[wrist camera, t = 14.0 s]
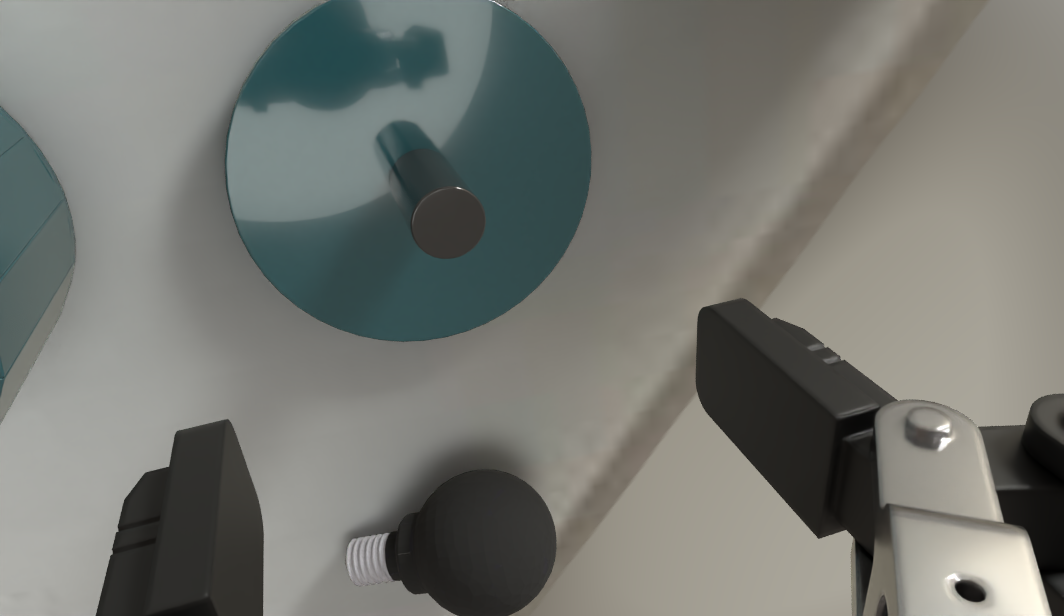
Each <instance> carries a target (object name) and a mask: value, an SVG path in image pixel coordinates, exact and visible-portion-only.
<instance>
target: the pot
mask: <svg viewBox="0 0 1064 616" xmlns="http://www.w3.org/2000/svg"><path fill="white" fill-rule="evenodd" d="M74 265H75V236H74V229H73V223H72V217H71V214H70V210H69V207H68V204H67V201H66V198H65V194H64V192H63V190H62V188H61V186H60V184H59V182H58V180H57V177H56V175H55V173H54V171H53V170H52V168H51V167H50V165H49V163H48V162H47V160H46V159H45V157H44V156H43V154H42V152H41V151H40V149H39V148H38V147H37V146H36V144H35V143H34V142H33V141H32V139H31V138H30V137H29V136H28V135H27V133H26V132H25V131H24V130H23V128H22V127H21V126H20V125H19V124H18V123H17V122H16V121H15V120H14V119H13V118H12V117H11V116H10V115H9V114H8V113H7V112H6V111H5V110H4V109H2V108H1V107H0V425H1V423H2V421H3V419H4V417H5V415H6V414H7V412H8V410H9V408H10V406H11V405H12V403H13V401H14V399H15V397H16V395H17V394H18V392H19V390H20V388H21V386H22V385H23V383H24V381H25V379H26V377H27V375H28V374H29V372H30V370H31V368H32V366H33V365H34V363H35V361H36V359H37V357H38V355H39V354H40V352H41V350H42V348H43V346H44V345H45V343H46V341H47V339H48V337H49V335H50V334H51V332H52V330H53V328H54V326H55V325H56V323H57V321H58V319H59V317H60V315H61V313H62V309H63V306H64V302H65V299H66V296H67V293H68V291H69V288H70V285H71V282H72V276H73V270H74Z"/></svg>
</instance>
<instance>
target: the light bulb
mask: <svg viewBox="0 0 1064 616" xmlns="http://www.w3.org/2000/svg"><path fill="white" fill-rule="evenodd" d="M555 556H556V532H555V526H554V522H553V519H552V516H551V514H550V512H549V510H548V507H547V506H546V504H545V502H544V501H543V499H542V498H541V496H540V495H539V494H538V493H537V492H536V491H535V490H534V489H533V488H532V487H531V486H530V485H529V484H527V483H526V482H525V481H523V480H521V479H519V478H518V477H516V476H514V475H511V474H508V473H505V472H501V471H497V470H475V471H470V472H466V473H463V474H460V475H458V476H456V477H454V478H452V479H450V480H448V481H447V482H446V483H444V484H443V485H442V486H440V487H439V488H438V489H437V490H436V491H435V492H434V493H433V494H432V495H431V496H430V498H429V499H428V500H427V501H426V503H425V505H424V506H423V508H422V510H421V512H418V513H412V514H408V515H406V516H405V517H404V518H403V519H402V521H401V523H400V524H399V527H398V530H397V531H396V532H391V533H385V534H383V535H382V534H378V535H377V536H376V535H372V536H365V537H359V538H357V539H352V540H351V541H350V543H349V545H348V548H347V553H346V560H345V565H346V568H347V571H348V574H349V577H350V579H351V581H352V582H353V583H354V584H355V585H357V586H363V585H369V584H372V585H374V584H376V583H378V584H380V583H383V582H385V583H387V582H389V581H391V582H394V581H400V580H402V582H403V584H404V586H405V587H406V589H407V590H408V591H410V592H411V593H413V594H424V593H428V594H429V595H430V596H431V597H432V598H433V599H434V600H435V601H436V602H437V603H438V604H439V605H440V606H441V607H443V608H445V609H446V610H448V611H450V612H451V613H453V614H455V615H458V616H508V615H511V614H513V613H515V612H517V611H519V610H521V609H522V608H523V607H525V606H526V605H527V604H529V603H530V602H531V601H532V600H533V599H534V598H535V597H536V596H537V595H538V594H539V592H540V591H541V590H542V588H543V587H544V585H545V583H546V582H547V580H548V578H549V576H550V574H551V571H552V568H553V565H554V562H555Z"/></svg>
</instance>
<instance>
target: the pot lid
mask: <svg viewBox="0 0 1064 616" xmlns="http://www.w3.org/2000/svg"><path fill="white" fill-rule="evenodd" d="M590 177H591V142H590V132H589V127H588V122H587V118H586V114H585V109H584V106H583V103H582V101H581V98H580V95H579V93H578V90H577V87H576V85H575V83H574V81H573V79H572V78H571V76H570V74H569V72H568V70H567V68H566V66H565V65H564V63H563V62H562V61H561V59H560V58H559V56H558V55H557V54H556V52H555V51H554V49H553V48H552V47H551V46H550V44H549V43H548V42H547V41H546V40H545V39H544V38H543V37H542V36H541V35H540V34H539V33H538V32H537V31H536V30H535V29H534V28H533V27H532V26H531V25H529V24H528V23H527V22H526V21H524V20H523V19H522V18H521V17H519V16H518V15H517V14H516V13H514V12H512V11H510V10H509V9H507V8H505V7H504V6H502V5H500V4H499V3H497V2H495V1H494V0H326V1H324V2H322V3H320V4H318V5H316V6H314V7H313V8H311V9H310V10H308V11H307V12H305V13H304V14H303V15H301V16H300V17H298V18H297V19H295V20H294V21H292V22H291V23H290V24H289V25H288V26H287V27H286V28H285V29H284V30H283V31H282V32H281V33H280V34H279V35H277V36H276V37H275V38H274V39H273V40H272V42H271V43H270V44H269V45H268V47H267V48H266V49H265V50H264V52H263V53H262V54H261V55H260V57H259V58H258V59H257V60H256V62H255V64H254V66H253V67H252V69H251V71H250V72H249V74H248V76H247V78H246V79H245V81H244V83H243V85H242V87H241V90H240V92H239V95H238V98H237V100H236V103H235V105H234V108H233V112H232V116H231V120H230V124H229V129H228V133H227V139H226V151H225V178H226V189H227V194H228V199H229V204H230V209H231V213H232V216H233V218H234V221H235V224H236V227H237V230H238V233H239V235H240V237H241V239H242V241H243V243H244V245H245V247H246V249H247V250H248V252H249V254H250V256H251V258H252V259H253V260H254V262H255V263H256V265H257V266H258V267H259V269H260V270H261V272H262V273H263V274H264V276H265V277H266V278H267V279H268V280H269V281H270V282H271V283H272V284H273V285H274V286H275V288H276V289H277V290H278V291H279V292H280V293H281V294H283V295H284V296H285V297H286V298H287V299H289V300H290V301H291V302H292V303H294V304H295V305H296V306H297V307H298V308H300V309H302V310H303V311H305V312H306V313H308V314H310V315H311V316H313V317H314V318H316V319H318V320H320V321H322V322H324V323H326V324H328V325H331V326H333V327H335V328H337V329H340V330H343V331H346V332H349V333H352V334H355V335H358V336H363V337H368V338H373V339H378V340H388V341H401V342H404V341H425V340H431V339H438V338H444V337H448V336H452V335H455V334H459V333H462V332H466V331H468V330H471V329H473V328H476V327H478V326H481V325H483V324H486V323H488V322H489V321H491V320H493V319H495V318H497V317H499V316H500V315H502V314H504V313H506V312H507V311H508V310H510V309H511V308H513V307H514V306H516V305H517V304H518V303H520V302H521V301H522V300H524V299H525V298H526V297H527V296H528V295H529V294H530V293H532V292H533V291H534V290H535V289H536V288H537V287H538V286H539V285H540V284H541V283H542V282H543V281H544V279H545V278H546V277H547V276H548V275H549V274H550V273H551V272H552V270H553V269H554V267H555V266H556V265H557V263H558V262H559V260H560V259H561V258H562V256H563V255H564V253H565V251H566V249H567V248H568V246H569V244H570V242H571V240H572V239H573V237H574V235H575V232H576V230H577V227H578V225H579V222H580V220H581V217H582V214H583V211H584V207H585V204H586V200H587V196H588V190H589V183H590Z"/></svg>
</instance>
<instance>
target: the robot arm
mask: <svg viewBox="0 0 1064 616" xmlns="http://www.w3.org/2000/svg"><path fill="white" fill-rule="evenodd" d="M696 388H697V392H698V396H699V399H700V401H701V404H702V406H703V408H704V409H705V411H706V412H707V413H708V415H709V416H710V417H711V418H712V419H713V421H714V422H715V423H716V424H717V425H718V426H719V427H720V428H721V429H722V430H723V432H724V433H725V434H726V435H727V436H728V437H729V439H730V440H731V441H732V442H733V443H734V444H735V445H736V446H737V447H738V449H739V450H740V451H741V452H742V453H743V454H744V455H745V456H746V458H747V459H748V460H749V461H750V462H751V463H752V464H753V466H755V468H756V469H757V470H758V471H759V472H760V473H761V475H762V476H763V477H764V478H765V479H766V480H767V481H768V482H769V484H770V485H771V486H772V487H773V488H774V489H775V490H776V491H777V493H779V495H780V496H781V497H782V498H783V499H784V500H785V502H786V503H787V504H788V505H789V506H790V507H791V508H792V509H793V511H794V512H795V513H796V514H797V515H798V516H799V517H800V518H801V519H802V521H803V522H804V523H805V524H806V525H807V526H808V527H809V528H810V530H811V531H812V532H813V533H814V534H815V535H816V536H817V538H818V539H819V538H822V537H826V536H828V535H832V534H835V533H838V532H841V531H844V530H847V531H848V532H849V533H850V534H851V535H852V536H853V537H854V538H853V543H852V549H851V588H852V590H851V591H852V616H1064V394H1052V395H1047V396H1044V397H1041V398H1039V399H1038V400H1036V401H1035V402H1034V403H1033V404H1032V406H1031V408H1030V412H1029V415H1028V418H1027V421H1026V425H1017V426H1016V425H1015V426H990V427H977V426H976V424H975V423H974V422H973V421H972V420H971V419H969V418H968V417H967V416H965V415H964V414H962V413H960V412H959V411H957V410H954V409H952V408H950V407H948V406H945V405H942V404H938V403H935V402H929V401H924V400H900V401H898V400H896V399H895V398H894V397H892V396H891V395H890V394H889V393H887V392H886V391H885V390H883V389H882V388H881V387H879V386H878V385H876V384H875V383H874V382H873V381H872V380H870V379H869V378H868V377H866V376H865V375H863V374H862V373H861V372H860V371H858V370H857V369H856V368H854V367H853V366H852V365H850V364H849V363H848V362H846V361H845V360H841V359H840V356H839V355H837V354H836V353H835V352H833V351H832V350H831V349H830V348H828V347H827V348H825V347H824V344H823V343H822V342H820V341H819V340H818V339H816V338H815V337H814V336H813V335H811V334H810V333H808V332H807V331H806V330H805V329H803V328H800V327H798V326H795V325H793V324H790V323H788V322H785V321H783V320H780V319H777V318H773V319H771V318H769V317H768V316H767V315H766V314H764V313H763V312H762V311H760V310H759V309H758V308H757V307H755V306H754V305H753V304H752V303H750V302H749V301H748V300H746V299H743V298H740V299H736V300H731V301H727V302H723V303H719V304H715V305H710V306H706V307H703V308H702V309H701V310H700V312H699V315H698V322H697V353H696ZM118 530H119V532H116V536H115V540H114V544H113V548H112V550H113V555H111V556H110V560H109V564H108V568H107V572H106V576H105V580H104V584H103V588H102V593H101V597H100V601H99V605H98V609H97V613H96V616H263V546H264V533H263V521H262V515H261V509H260V505H259V500H258V497H257V494H256V491H255V488H254V485H253V482H252V479H251V476H250V473H249V470H248V468H247V465H246V462H245V459H244V456H243V453H242V450H241V447H240V445H239V442H238V439H237V436H236V433H235V430H234V428H233V426H232V424H231V422H230V421H229V420H228V419H226V420H221V421H217V422H213V423H209V424H205V425H200V426H196V427H192V428H188V429H184V430H179V431H177V432H176V434H175V437H174V443H173V449H172V454H171V460H170V465H169V467H166V468H162V469H158V470H154V471H150V472H146V473H145V474H144V475H143V476H142V478H141V479H140V480H139V481H138V483H137V484H136V485H135V487H134V488H133V489H132V491H131V492H130V493H129V494H128V496H127V497H126V498H125V500H124V503H123V507H122V512H121V516H120V520H119V524H118Z"/></svg>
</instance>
